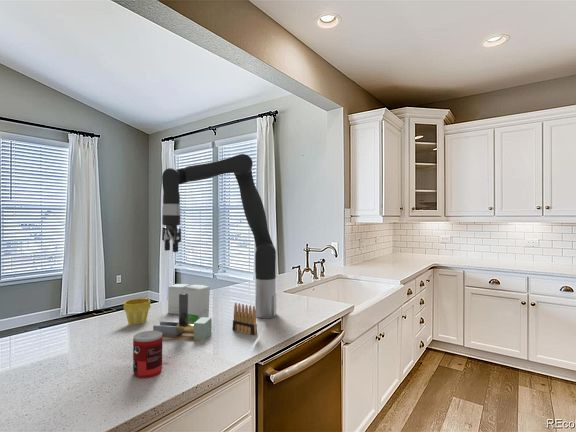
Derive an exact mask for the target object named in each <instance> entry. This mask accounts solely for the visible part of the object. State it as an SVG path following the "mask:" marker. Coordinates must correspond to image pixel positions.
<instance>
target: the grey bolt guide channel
mask: <svg viewBox="0 0 576 432" xmlns="http://www.w3.org/2000/svg"><path fill="white" fill-rule="evenodd" d="M178 323H179V321H167V320H166V321H165V320H164V321H163V320H160V321H159V325H158V324H153V325H152V327H153V328H152V329H153V330H152V331H159V332H161V333H162V337H170V338H177V337H178V336H179V335H181V334H182V333H177V324H178Z"/></svg>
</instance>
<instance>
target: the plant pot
mask: <svg viewBox="0 0 576 432" xmlns="http://www.w3.org/2000/svg"><path fill="white" fill-rule="evenodd" d="M150 308H151V299H150V298H145V297H143V298H142V297H141V298H140V297H139V298H132V299H129V300H125V301H123V311H124V312H125V314H126V319H127V323H128V325H129V326H131V325H138V324H139V325H140V324H144V323H146V322H147V320H148V315H149V309H150Z"/></svg>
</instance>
